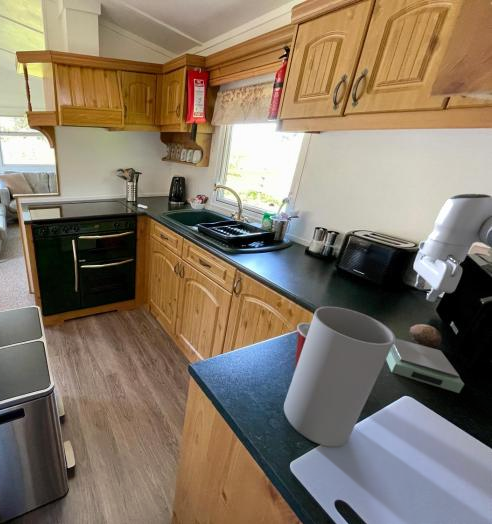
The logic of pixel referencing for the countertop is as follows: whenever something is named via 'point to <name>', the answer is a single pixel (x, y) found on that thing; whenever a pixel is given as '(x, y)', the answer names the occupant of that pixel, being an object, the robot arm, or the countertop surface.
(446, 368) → the scale pan
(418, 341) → the brown potato
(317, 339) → the cylinder vase
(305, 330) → the plastic cup
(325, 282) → the countertop surface
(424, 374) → the scale base
